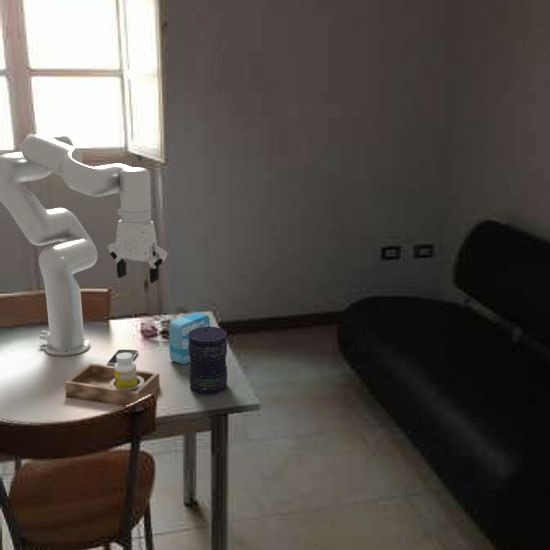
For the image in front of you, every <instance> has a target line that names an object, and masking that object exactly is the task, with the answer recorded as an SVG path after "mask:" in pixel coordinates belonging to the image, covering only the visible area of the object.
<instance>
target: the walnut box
mask: <svg viewBox="0 0 550 550" xmlns="http://www.w3.org/2000/svg"><path fill="white" fill-rule="evenodd" d="M136 372H137V386H134V387H132V388H118V387H116V385H115V372H114V366H107V364H99V363H92V362H90V363H88V365H86V366H85V367H84V368H82V369H81V370H79V371H78V372H76V373H75V374H74V375H72V376H71V377H70V378H69V379H67V380H66V381H65V382H64V389H65V390H64V391H65V398H70V399H78V400H83V401H90V402H94V403H95V402H97V403H101V404H107V405H112V406H113V405H115V406H120V407H125V406H126V405H129V404H131V403H134V402H136V401H138V400H139V399H141V398H143V397H145V396H147V395H149V394H152V393H153V394H155V392H156V391H157V390H159V388H161V386H160V384H161V383H160V372H155V371H148V370H147V371H146V370H140V369H136ZM153 394H152V395H153Z"/></svg>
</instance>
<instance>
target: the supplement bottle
mask: <svg viewBox="0 0 550 550" xmlns="http://www.w3.org/2000/svg"><path fill="white" fill-rule="evenodd" d="M116 361H117V363H116V364H115V366H114V372H115V385H116V387H118V388H132V387H134V386H137V372H136V370H137V364H136V362H135V361H134V360H133V355H132V354H131V353H127V352H124V353H120V354H118V355H117V356H116Z"/></svg>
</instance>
